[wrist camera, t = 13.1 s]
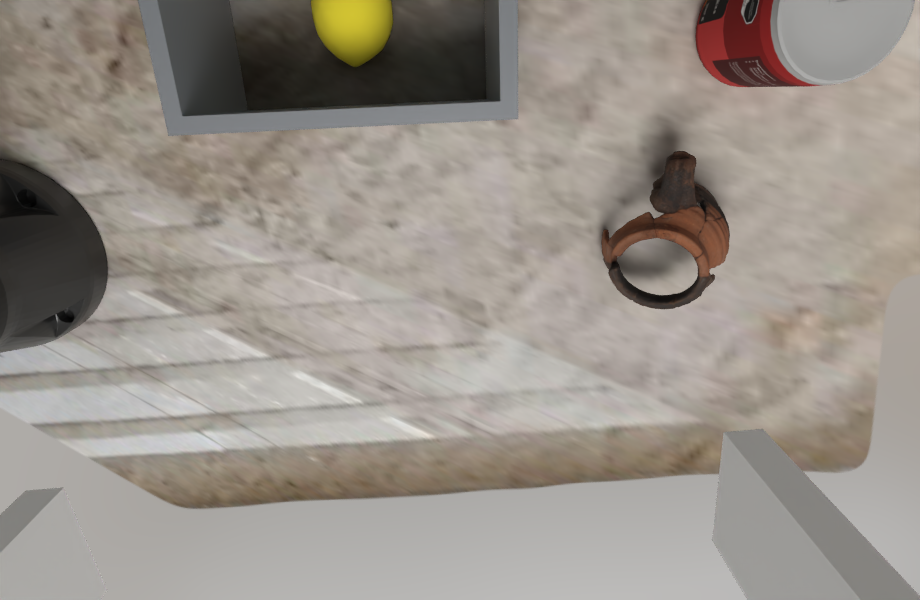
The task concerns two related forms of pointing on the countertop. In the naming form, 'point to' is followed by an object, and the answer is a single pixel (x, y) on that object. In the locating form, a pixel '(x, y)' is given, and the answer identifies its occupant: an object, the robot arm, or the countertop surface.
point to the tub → (225, 108)
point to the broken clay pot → (674, 231)
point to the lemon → (353, 27)
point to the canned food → (797, 39)
